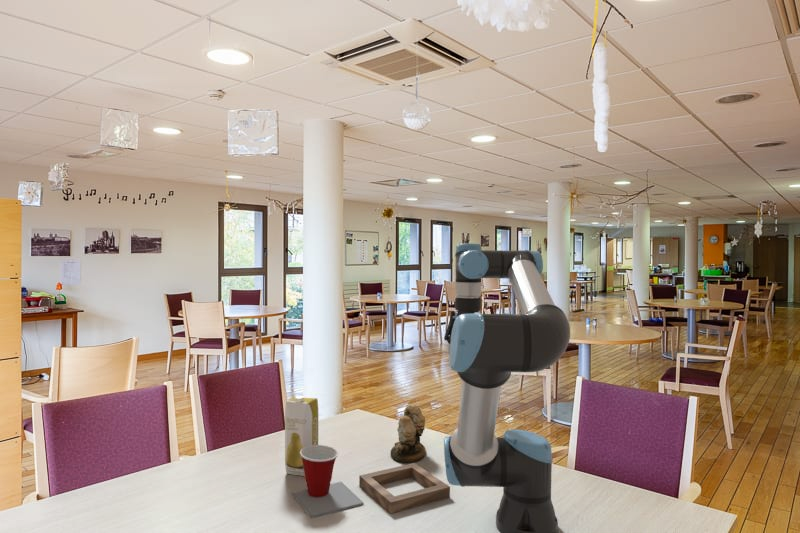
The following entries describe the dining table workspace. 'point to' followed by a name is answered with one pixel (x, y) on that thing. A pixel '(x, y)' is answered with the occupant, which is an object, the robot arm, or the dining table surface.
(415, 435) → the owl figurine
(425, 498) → the square wooden frame
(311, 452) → the plastic cup
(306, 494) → the rubber mat
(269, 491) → the dining table surface
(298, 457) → the juice carton
